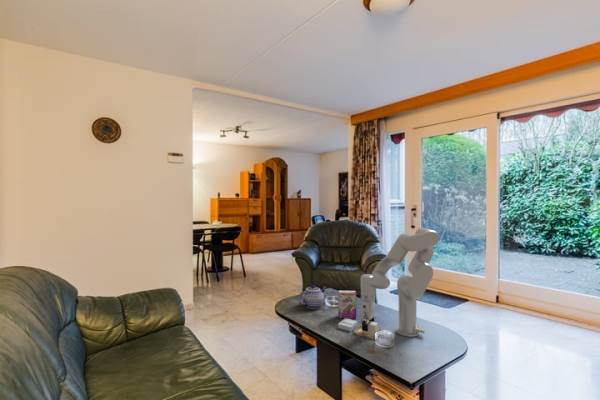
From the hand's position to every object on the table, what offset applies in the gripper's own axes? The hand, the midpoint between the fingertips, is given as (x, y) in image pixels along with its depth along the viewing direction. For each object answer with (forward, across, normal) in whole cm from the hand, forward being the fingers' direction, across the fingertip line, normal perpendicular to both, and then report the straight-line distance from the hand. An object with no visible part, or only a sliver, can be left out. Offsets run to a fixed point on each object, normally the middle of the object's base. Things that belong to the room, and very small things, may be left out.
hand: (368, 327), depth 167 cm
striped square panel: (+3, +2, +13) cm, 14 cm away
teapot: (+3, +18, +47) cm, 51 cm away
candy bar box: (+4, +14, +19) cm, 24 cm away
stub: (+3, 0, -1) cm, 3 cm away
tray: (+4, 0, 0) cm, 4 cm away
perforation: (+3, -5, +13) cm, 15 cm away
